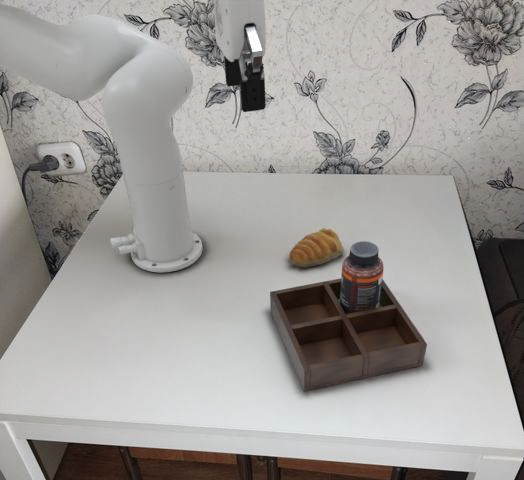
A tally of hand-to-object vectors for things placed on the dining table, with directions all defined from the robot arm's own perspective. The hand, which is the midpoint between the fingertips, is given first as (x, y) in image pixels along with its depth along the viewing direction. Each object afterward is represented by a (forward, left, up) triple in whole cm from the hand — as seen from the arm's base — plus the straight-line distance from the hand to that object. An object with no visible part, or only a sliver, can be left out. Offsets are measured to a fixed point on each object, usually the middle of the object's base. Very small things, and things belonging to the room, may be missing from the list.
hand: (245, 96), depth 82 cm
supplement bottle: (+12, -18, -28) cm, 35 cm away
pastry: (+11, -1, -28) cm, 31 cm away
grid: (+8, -22, -28) cm, 37 cm away
